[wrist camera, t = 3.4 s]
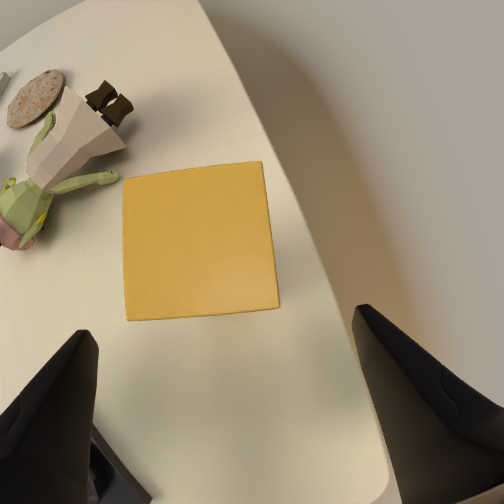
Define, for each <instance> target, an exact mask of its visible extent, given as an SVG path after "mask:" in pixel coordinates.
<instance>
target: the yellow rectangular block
mask: <svg viewBox="0 0 504 504" xmlns="http://www.w3.org/2000/svg"><path fill="white" fill-rule="evenodd" d="M123 272H124V291H125V305H126V317H127V321H143V320H161V319H176V318H189V317H202V316H214V315H224V314H235V313H245V312H254V311H263V310H272V309H279V308H280V299H279V290H278V282H277V273H276V265H275V257H274V249H273V241H272V233H271V225H270V217H269V209H268V202H267V194H266V187H265V180H264V172H263V165H262V162H261V161H254V162H243V163H233V164H223V165H215V166H206V167H198V168H191V169H184V170H177V171H170V172H163V173H157V174H151V175H145V176H139V177H134V178H128V179H124V189H123Z"/></svg>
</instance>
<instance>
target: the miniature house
mask: <svg viewBox="0 0 504 504" xmlns="http://www.w3.org/2000/svg"><path fill="white" fill-rule="evenodd" d="M9 80H10V77H9V76H8V75H7V73H6V72H3V73H0V98H1V96H2V94H3V92H4V90H5V88H6V86H7V84H8V82H9Z"/></svg>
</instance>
